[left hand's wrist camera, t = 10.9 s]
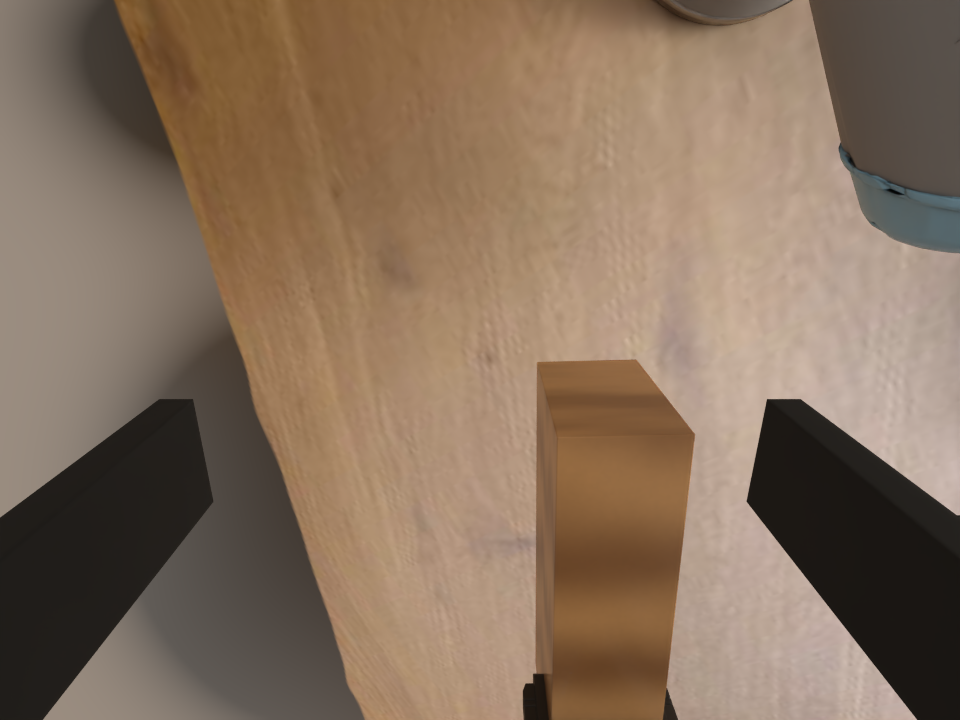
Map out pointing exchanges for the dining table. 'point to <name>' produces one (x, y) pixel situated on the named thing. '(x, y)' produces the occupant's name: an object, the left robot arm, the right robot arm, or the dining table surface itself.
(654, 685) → the bar
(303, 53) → the dining table surface
